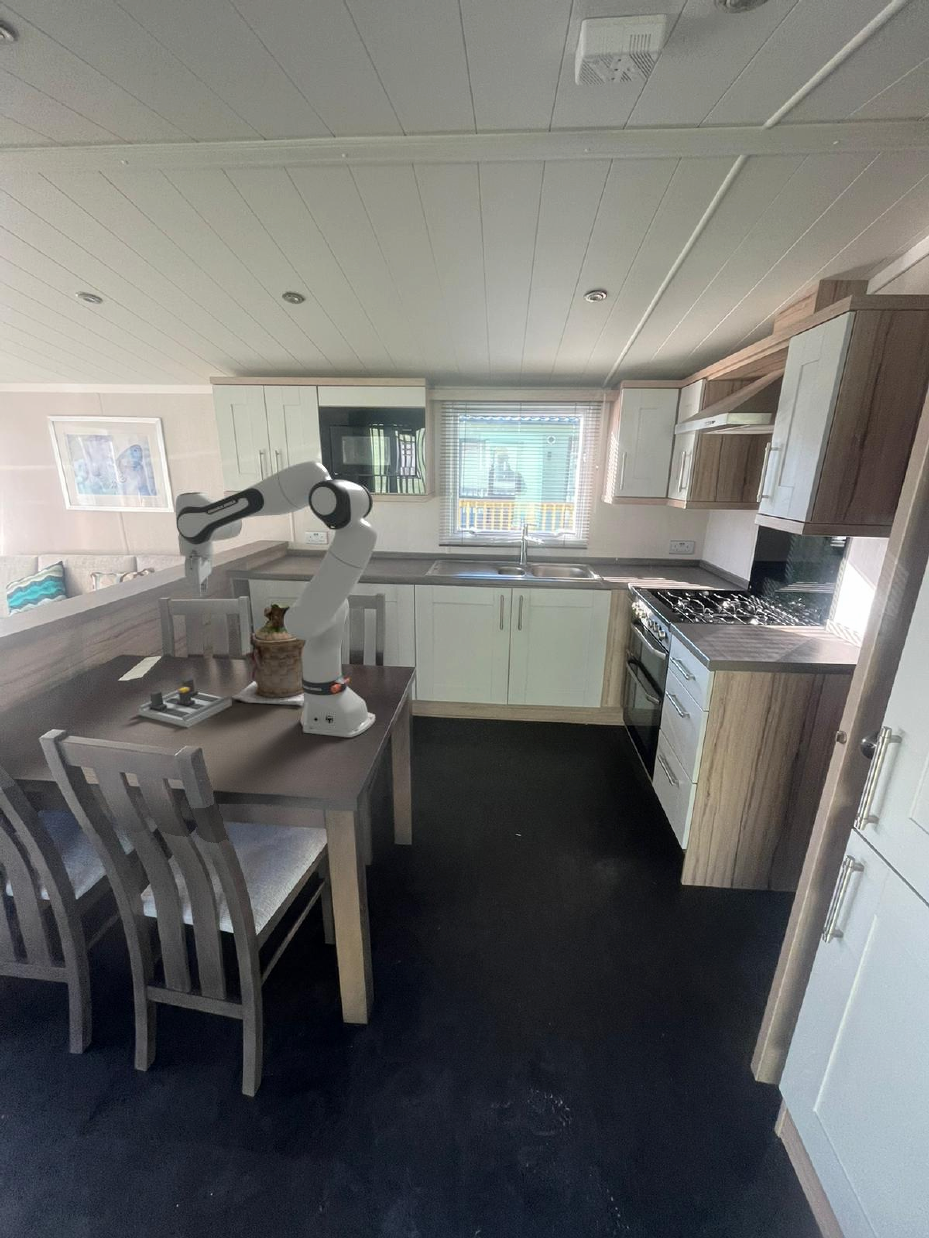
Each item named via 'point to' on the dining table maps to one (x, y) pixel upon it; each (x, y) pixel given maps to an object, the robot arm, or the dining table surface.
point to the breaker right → (190, 686)
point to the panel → (186, 709)
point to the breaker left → (157, 701)
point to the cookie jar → (275, 663)
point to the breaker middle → (185, 696)
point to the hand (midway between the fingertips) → (201, 594)
